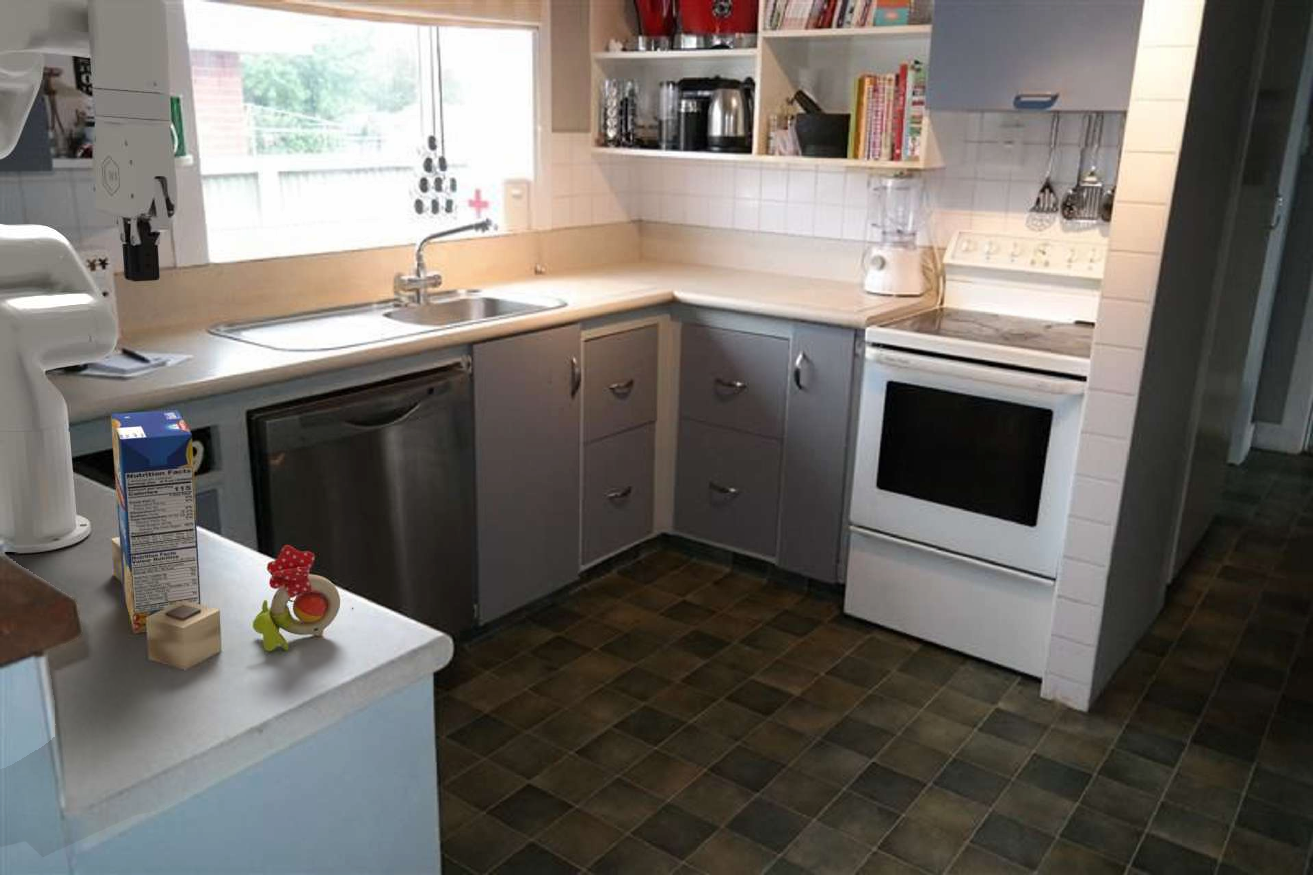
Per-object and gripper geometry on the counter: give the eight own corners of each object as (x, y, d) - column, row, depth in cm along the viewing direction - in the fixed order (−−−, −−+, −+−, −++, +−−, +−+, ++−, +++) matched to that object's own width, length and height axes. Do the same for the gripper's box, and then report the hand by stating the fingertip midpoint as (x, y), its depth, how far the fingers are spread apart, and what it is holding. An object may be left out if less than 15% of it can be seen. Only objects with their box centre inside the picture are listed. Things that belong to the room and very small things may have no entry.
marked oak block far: (113, 575, 131) (110, 536, 130) (156, 566, 134) (154, 528, 133) (127, 589, 128) (124, 549, 126) (170, 579, 131) (168, 540, 130)
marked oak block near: (148, 659, 112) (145, 614, 110) (185, 640, 116) (183, 597, 115) (185, 670, 110) (182, 625, 109) (221, 651, 114) (219, 607, 113)
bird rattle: (310, 640, 122) (232, 624, 117) (348, 552, 122) (272, 532, 117) (324, 665, 117) (243, 648, 112) (364, 573, 117) (285, 552, 112)
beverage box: (134, 633, 117) (120, 439, 111) (123, 595, 126) (110, 414, 120) (201, 622, 120) (191, 434, 114) (186, 586, 129) (176, 409, 123)
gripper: (63, 103, 117) (76, 272, 122) (133, 110, 108) (143, 291, 113) (132, 108, 122) (141, 269, 127) (203, 115, 114) (209, 287, 119)
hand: (142, 279), depth 120 cm, fingers closed
